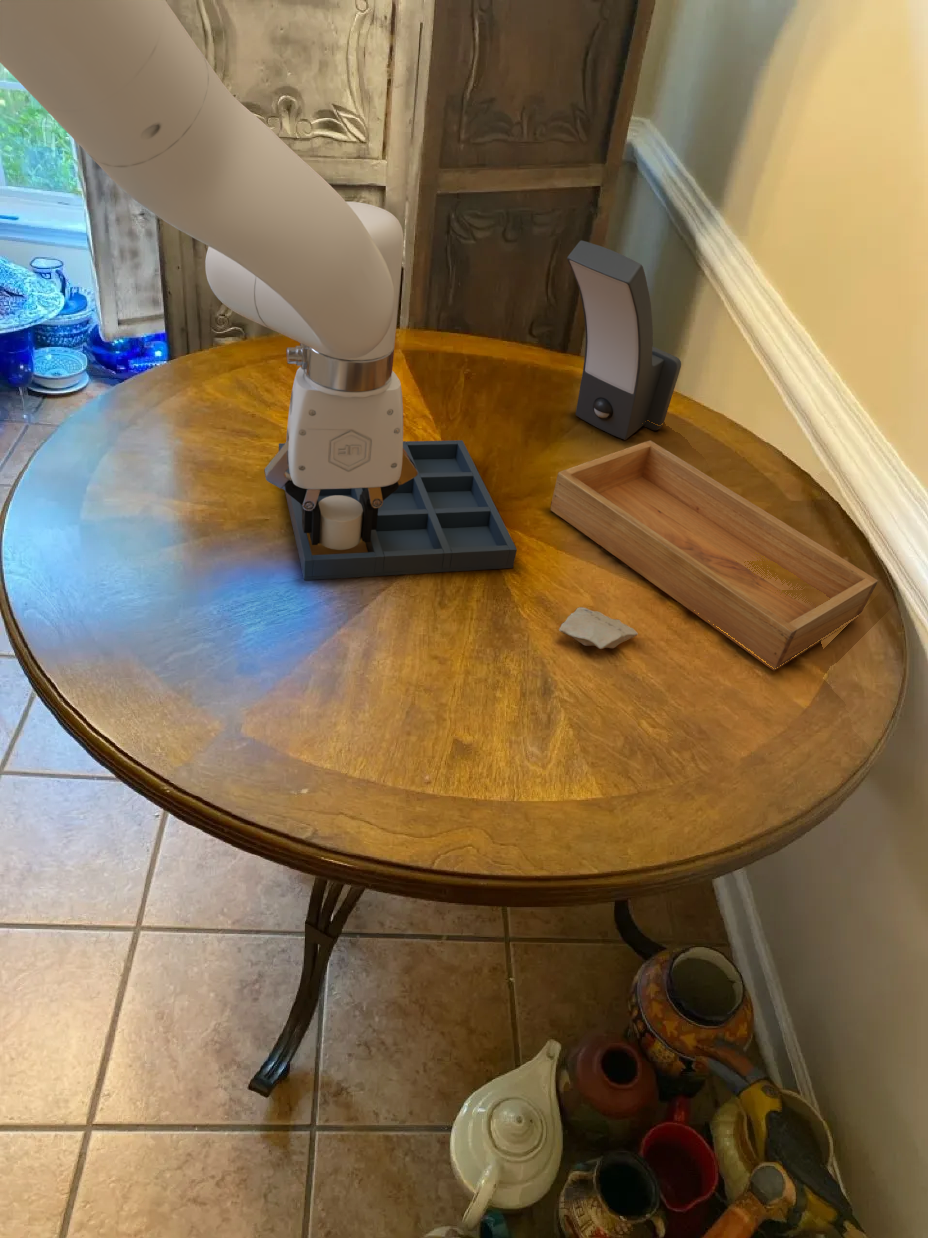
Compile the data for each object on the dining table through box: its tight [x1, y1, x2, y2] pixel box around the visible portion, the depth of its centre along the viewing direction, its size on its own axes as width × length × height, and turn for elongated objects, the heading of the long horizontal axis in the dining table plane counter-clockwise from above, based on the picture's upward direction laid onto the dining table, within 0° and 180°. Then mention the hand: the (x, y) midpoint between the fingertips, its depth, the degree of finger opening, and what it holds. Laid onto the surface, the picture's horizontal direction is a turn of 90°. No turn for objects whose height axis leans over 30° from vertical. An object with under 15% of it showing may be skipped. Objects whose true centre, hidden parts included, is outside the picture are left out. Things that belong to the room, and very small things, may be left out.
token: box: [319, 495, 363, 550], centre depth 89 cm, size 4×4×3 cm
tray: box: [550, 440, 879, 671], centre depth 96 cm, size 31×15×6 cm, turn 39°
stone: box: [558, 606, 639, 650], centre depth 86 cm, size 6×2×6 cm
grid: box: [278, 439, 518, 581], centre depth 97 cm, size 21×21×2 cm
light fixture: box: [566, 240, 682, 441], centre depth 110 cm, size 11×17×24 cm, turn 140°
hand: (339, 533), depth 89 cm, fingers closed on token, 4 cm apart
